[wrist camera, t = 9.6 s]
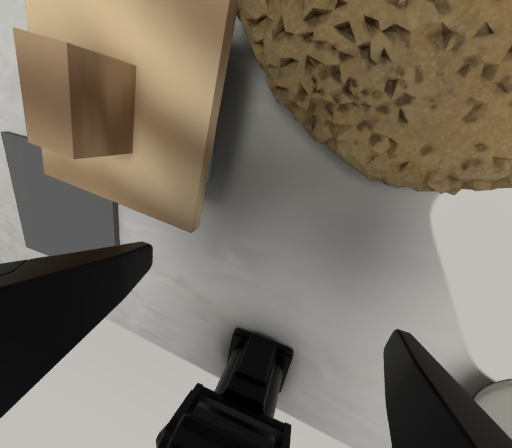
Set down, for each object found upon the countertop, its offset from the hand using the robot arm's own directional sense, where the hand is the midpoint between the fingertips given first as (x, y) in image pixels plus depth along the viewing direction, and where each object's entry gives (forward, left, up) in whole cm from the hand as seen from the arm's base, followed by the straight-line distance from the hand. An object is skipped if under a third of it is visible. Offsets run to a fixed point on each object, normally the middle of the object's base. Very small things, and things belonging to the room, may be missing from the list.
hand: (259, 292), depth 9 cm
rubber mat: (-8, +25, -12) cm, 29 cm away
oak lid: (+5, +12, -8) cm, 15 cm away
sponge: (+11, -2, -12) cm, 17 cm away
